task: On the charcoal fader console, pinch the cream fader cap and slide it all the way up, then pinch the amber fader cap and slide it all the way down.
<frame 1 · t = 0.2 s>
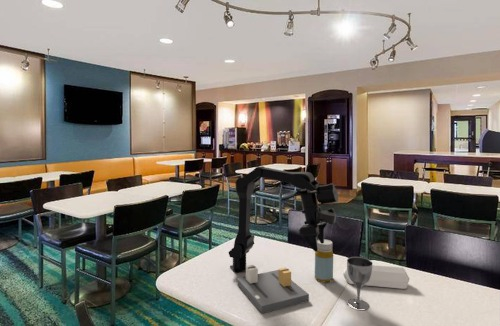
hand: (319, 247, 115), 15 cm above the table, tool pointing down, fingers open, 9 cm apart
wine glass: (358, 305, 105), on the table
bottle: (323, 279, 123), on the table
console: (271, 292, 113), on the table
fader b: (284, 276, 113), point 5 cm above the table, slide at 8.0 cm
fader a: (251, 273, 115), point 5 cm above the table, slide at 1.0 cm
crystal: (375, 284, 120), on the table
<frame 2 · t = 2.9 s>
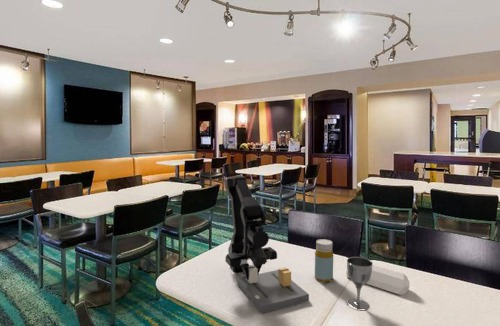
hand: (251, 278, 116), 4 cm above the table, tool pointing down, fingers closed on fader a, 3 cm apart
fader a: (251, 273, 115), point 5 cm above the table, slide at 1.0 cm, touching gripper
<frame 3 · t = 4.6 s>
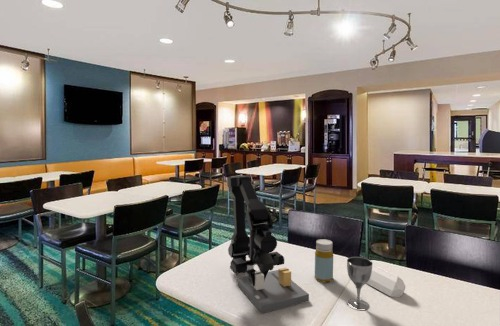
hand: (257, 284, 111), 4 cm above the table, tool pointing down, fingers closed on fader a, 3 cm apart
fader a: (257, 279, 111), point 5 cm above the table, slide at 6.3 cm, touching gripper
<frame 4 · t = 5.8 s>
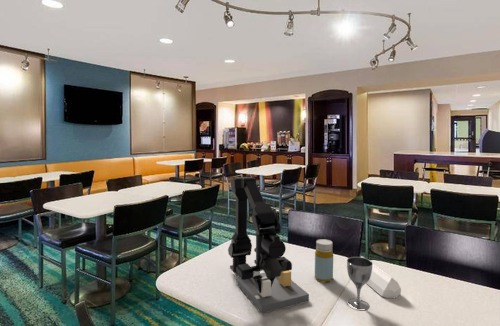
hand: (264, 291, 106), 4 cm above the table, tool pointing down, fingers closed on fader a, 3 cm apart
fader a: (264, 286, 106), point 5 cm above the table, slide at 11.4 cm, touching gripper
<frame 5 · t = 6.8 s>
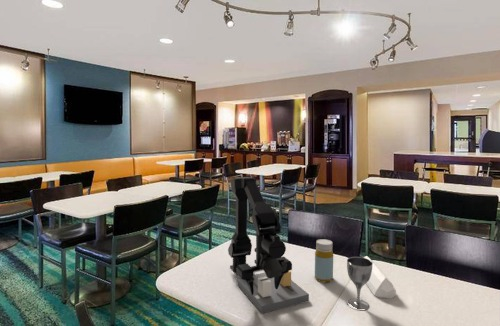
hand: (264, 291, 106), 4 cm above the table, tool pointing down, fingers open, 9 cm apart
fader a: (264, 286, 106), point 5 cm above the table, slide at 11.5 cm
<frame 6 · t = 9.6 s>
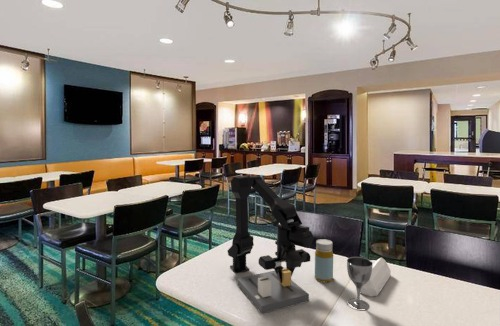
hand: (284, 281, 113), 4 cm above the table, tool pointing down, fingers closed on fader b, 3 cm apart
fader b: (284, 276, 113), point 5 cm above the table, slide at 8.0 cm, touching gripper
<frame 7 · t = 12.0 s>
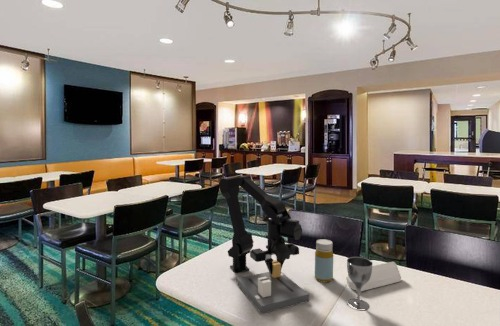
hand: (274, 273, 120), 3 cm above the table, tool pointing down, fingers closed on fader b, 3 cm apart
fader b: (274, 268, 120), point 5 cm above the table, slide at 0.6 cm, touching gripper
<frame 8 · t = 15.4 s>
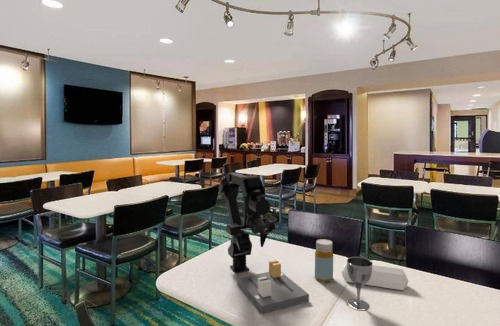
hand: (251, 248, 120), 13 cm above the table, tool pointing down, fingers open, 9 cm apart
fader b: (274, 268, 120), point 5 cm above the table, slide at 0.6 cm
at the end: fader a slide at 11.5 cm; fader b slide at 0.6 cm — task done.
